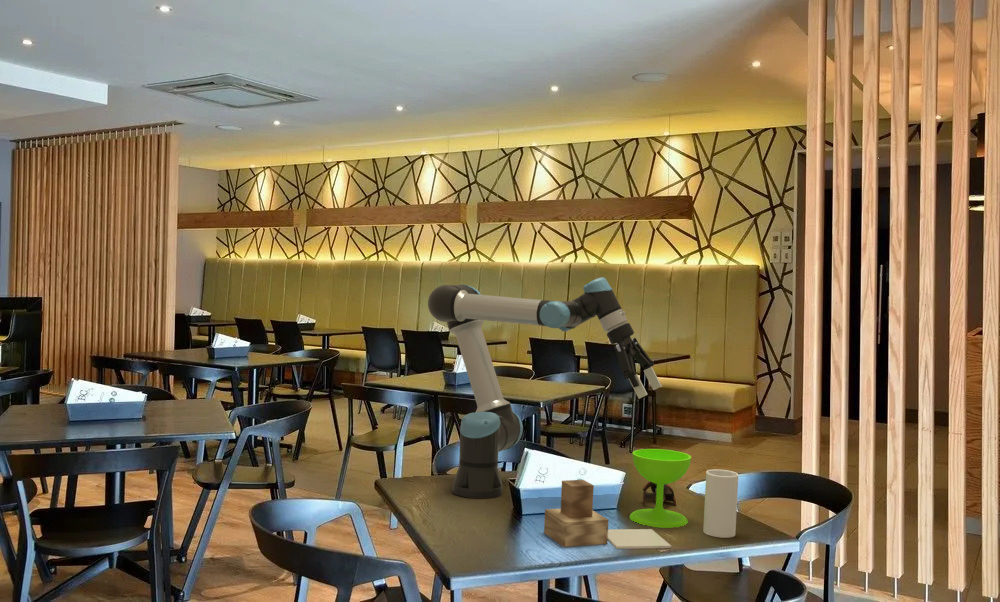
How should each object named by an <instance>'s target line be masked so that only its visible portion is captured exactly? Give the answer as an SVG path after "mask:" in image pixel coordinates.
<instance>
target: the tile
mask: <svg viewBox="0 0 1000 602" xmlns="http://www.w3.org/2000/svg"><path fill="white" fill-rule="evenodd" d="M608 541H609V543H610V544H611V545H612V546H613V547H614V548H615V549H616V550H624V549H627V550H628V549H629V550H631V549H633V550H634V549H639V550H640V549H672V545H671V544H670V543H669V542H668V541H666V540H665V539H664V538H662V536H661V535H659V534H658V533H657V532H656V531H655V530H653V529H652V528H647V529H646V528H643V529H642V528H640V529H639V528H638V529H637V528H635V529H629V528H628V529H626V528H624V529H608ZM608 541H607V542H608Z"/></svg>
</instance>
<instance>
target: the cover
mask: <svg viewBox="0 0 1000 602" xmlns="http://www.w3.org/2000/svg"><path fill="white" fill-rule="evenodd" d="M594 489H595V488H594V485H593V484H592V483H590V482H589V481H587V480H585V479H572V480H571V479H570V480H568V479H567V480H562V481H561V493H560V508H548V509H544V520H543V521H544V526H543V534H545V535H546V536H548V537H549V538H550V539H552V540H553V541H555V542H556V543H557V544H559V545H560V546H561V547H562V548H568V547H581V546H593V545H594V546H596V545H605V544H606V545H607V544H608V530H609V519H608V518H606V517H604V516H603V515H601V514H599V513H598V512H596V511H595V510H594V509H593V508H594V507H593V506H594Z"/></svg>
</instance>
